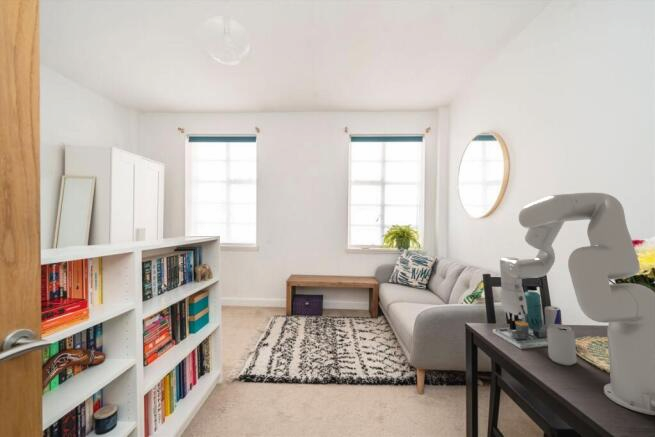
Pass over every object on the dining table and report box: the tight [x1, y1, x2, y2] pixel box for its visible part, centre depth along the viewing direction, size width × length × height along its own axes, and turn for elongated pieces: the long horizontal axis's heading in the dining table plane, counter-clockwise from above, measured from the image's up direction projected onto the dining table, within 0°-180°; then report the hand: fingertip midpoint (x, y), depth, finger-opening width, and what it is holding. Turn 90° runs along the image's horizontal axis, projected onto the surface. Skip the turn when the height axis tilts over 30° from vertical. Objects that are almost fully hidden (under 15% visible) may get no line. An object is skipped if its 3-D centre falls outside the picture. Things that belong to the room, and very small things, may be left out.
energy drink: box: [544, 305, 563, 336], centre depth 117 cm, size 5×5×12 cm
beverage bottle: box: [524, 283, 544, 330], centre depth 125 cm, size 6×7×20 cm
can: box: [546, 324, 578, 366], centre depth 98 cm, size 8×8×12 cm
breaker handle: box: [515, 320, 529, 336], centre depth 117 cm, size 3×3×5 cm
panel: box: [492, 327, 548, 350], centre depth 117 cm, size 16×14×4 cm
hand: (514, 328), depth 121 cm, fingers closed
